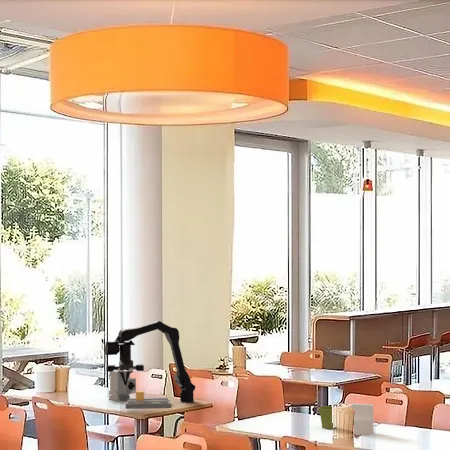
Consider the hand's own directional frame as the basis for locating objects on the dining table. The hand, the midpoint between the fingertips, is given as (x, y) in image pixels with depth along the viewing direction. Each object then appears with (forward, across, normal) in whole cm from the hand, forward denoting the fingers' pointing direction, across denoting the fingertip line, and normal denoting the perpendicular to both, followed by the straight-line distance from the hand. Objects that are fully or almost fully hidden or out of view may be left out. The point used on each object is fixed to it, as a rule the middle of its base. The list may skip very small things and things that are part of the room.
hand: (125, 385), depth 482 cm
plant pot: (+11, +92, -75) cm, 120 cm away
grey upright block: (+11, +104, -89) cm, 138 cm away
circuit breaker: (+11, -3, +24) cm, 26 cm away
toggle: (+8, +7, 0) cm, 11 cm away
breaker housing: (+11, +11, 0) cm, 15 cm away
